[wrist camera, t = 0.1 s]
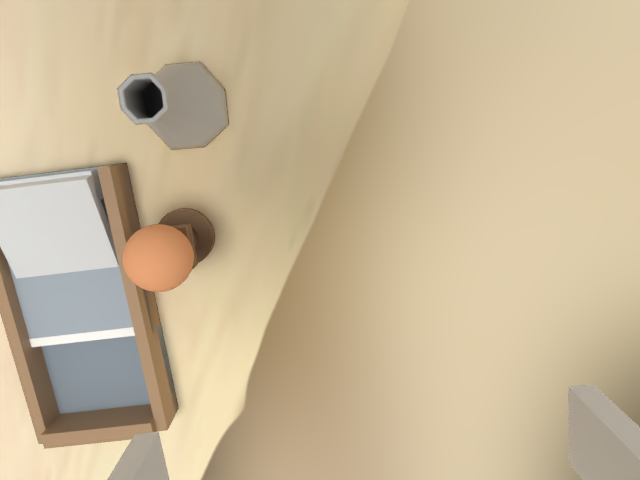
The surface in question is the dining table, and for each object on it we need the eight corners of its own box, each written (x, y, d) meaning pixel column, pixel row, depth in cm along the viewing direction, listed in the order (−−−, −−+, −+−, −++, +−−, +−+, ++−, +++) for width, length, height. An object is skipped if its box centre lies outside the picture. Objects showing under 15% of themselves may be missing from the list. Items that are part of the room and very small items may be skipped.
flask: (243, 130, 40) (218, 129, 30) (167, 163, 40) (120, 173, 31) (206, 46, 38) (167, 18, 29) (128, 82, 39) (64, 66, 29)
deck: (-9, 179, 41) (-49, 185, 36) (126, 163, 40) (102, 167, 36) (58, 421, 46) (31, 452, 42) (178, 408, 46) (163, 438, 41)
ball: (132, 222, 37) (103, 236, 32) (194, 215, 36) (175, 228, 32) (145, 282, 38) (119, 305, 33) (206, 276, 38) (189, 297, 33)
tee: (153, 212, 41) (130, 223, 36) (209, 205, 41) (194, 215, 36) (164, 265, 43) (143, 284, 37) (219, 259, 42) (205, 276, 37)
